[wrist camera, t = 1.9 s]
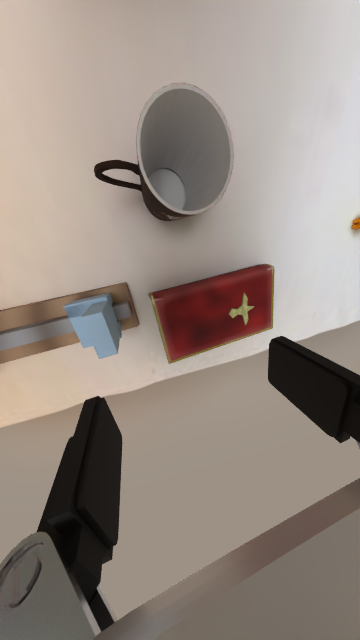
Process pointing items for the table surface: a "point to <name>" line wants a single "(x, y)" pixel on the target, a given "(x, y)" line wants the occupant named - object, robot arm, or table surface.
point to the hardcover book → (214, 311)
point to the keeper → (96, 323)
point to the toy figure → (356, 226)
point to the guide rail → (53, 312)
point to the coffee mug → (179, 153)
